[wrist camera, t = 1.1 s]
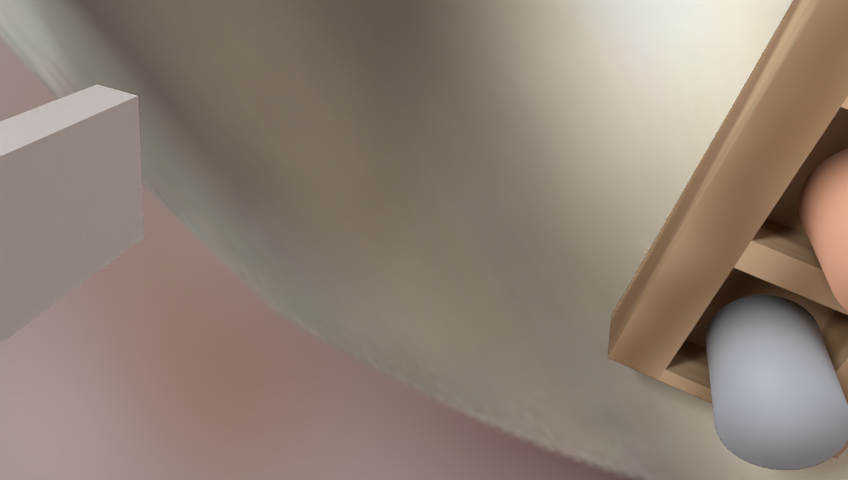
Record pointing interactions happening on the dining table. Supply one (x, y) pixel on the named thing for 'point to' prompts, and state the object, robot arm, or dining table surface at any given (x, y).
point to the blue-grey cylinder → (774, 384)
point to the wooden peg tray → (747, 210)
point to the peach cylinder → (828, 220)
